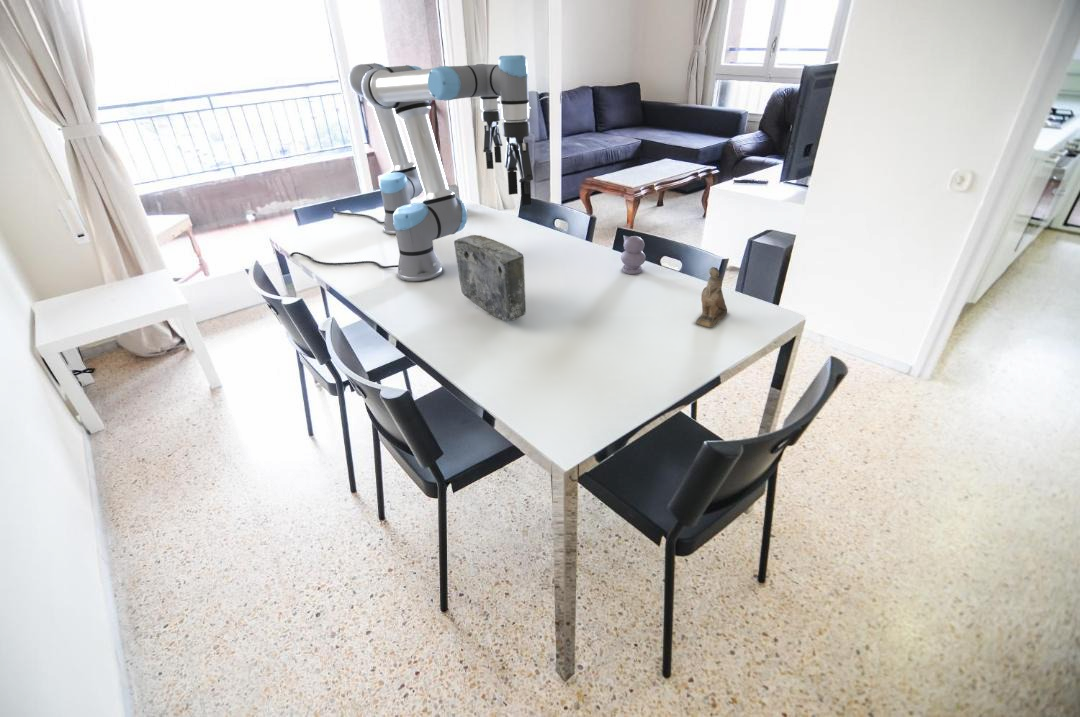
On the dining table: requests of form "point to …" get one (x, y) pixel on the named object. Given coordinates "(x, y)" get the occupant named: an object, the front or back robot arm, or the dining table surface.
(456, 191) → the brick
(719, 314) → the worn brown figurine
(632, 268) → the cat figurine
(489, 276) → the concrete block
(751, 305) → the dining table surface
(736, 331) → the dining table surface
